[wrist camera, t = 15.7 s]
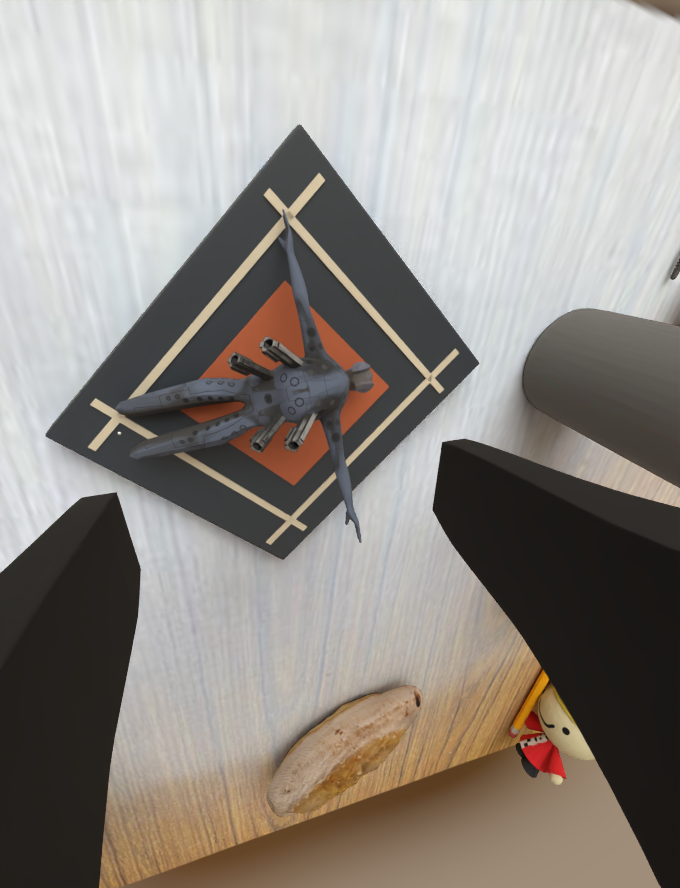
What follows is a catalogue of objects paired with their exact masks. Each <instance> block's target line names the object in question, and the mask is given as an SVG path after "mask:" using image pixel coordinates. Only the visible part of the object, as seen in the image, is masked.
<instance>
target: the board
mask: <svg viewBox="0 0 680 888" xmlns="http://www.w3.org/2000/svg"><path fill="white" fill-rule="evenodd" d="M282 209H284V211H285V214H286V216H287V219H288V223H289V226H290V229H291V232H292V237H293V248H294V254H295V257H296V260H297V262H298V265H299V267H300V270H301V273H302V275H303V278H304V281H305V285H306V289H307V294H308V300H309V306H310V310H311V313H312V316H313V319H314V322H315V324H316V327H317V330H318V333H319V336H320V338H321V341H322V344H323V347H324V349H325V351H326V353H327V354H328V355H329V356H330V357H331V358H333V359H334V360H335V361H336V362H337V363H338V364H339V365H340V366H341V367H342V368H343V369H344V371H346V370H348V369H349V368H351V367H352V366H353V364H355V363H357V362H365V363H367V364H369V365H370V371H371V373H372V375H373V378H372V382H373V383H374V386H373V387H372V389H371V390H369V391H368V392H366V393H360V392H358V391H349V394H348V397H347V399H346V402H345V405H344V407H343V408H342V410H341V415H340V421H341V431H342V440H343V450H344V457H345V462H346V465H347V468H348V471H349V476H350V481H351V488H352V491H353V490H354V489H355V488H356V487H357V486H358V485H359V484H360V483H361V482H362V481H363V480H364V479H365V478H366V477H367V476H368V475H369V474H370V473H371V472H372V471H373V470H374V469H375V468H376V467H377V466H378V465H379V464H380V463H381V462H382V461H383V460H384V459H385V458H386V457H387V456H388V455H389V454H390V452H391V451H392V450H393V449H394V448H395V447H396V446H397V445H398V444H399V443H400V442H401V441H402V440H403V439H404V438H405V437H406V436H407V435H408V434H409V433H410V432H411V431H412V430H413V429H414V428H415V427H416V426H417V425H418V424H419V423H420V422H421V421H422V420H423V419H424V418H425V417H426V416H427V415H428V414H429V413H430V412H431V411H432V410H433V409H434V408H435V407H436V406H437V405H438V404H439V403H440V402H441V401H442V400H443V399H444V398H445V397H446V396H447V395H448V394H449V393H450V392H451V391H452V390H453V389H454V388H455V387H456V386H457V385H458V384H459V383H460V382H461V381H462V380H463V379H464V378H465V377H466V376H467V375H468V374H469V373H470V372H471V371H472V370H473V369H474V368H475V367H476V366H477V365H478V364H479V362H478V360H477V359H476V358H475V356H474V355H473V354H472V352H471V351H470V350H469V348H468V347H467V346H466V344H465V343H464V342H463V340H462V339H461V338H460V336H459V335H458V334H457V332H456V331H455V330H454V328H453V327H452V326H451V324H450V323H449V322H448V320H447V319H446V318H445V316H444V315H443V314H442V312H441V311H440V310H439V308H438V307H437V306H436V304H435V303H434V302H433V300H432V299H431V298H430V296H429V295H428V294H427V292H426V291H425V290H424V288H423V287H422V286H421V284H420V283H419V282H418V280H417V279H416V278H415V276H414V275H413V274H412V272H411V271H410V270H409V268H408V267H407V266H406V264H405V263H404V262H403V260H402V259H401V258H400V256H399V255H398V254H397V252H396V251H395V250H394V248H393V247H392V246H391V244H390V243H389V242H388V240H387V239H386V238H385V236H384V235H383V234H382V232H381V231H380V230H379V228H378V227H377V226H376V224H375V223H374V222H373V220H372V219H371V218H370V216H369V215H368V214H367V212H366V211H365V210H364V208H363V207H362V206H361V204H360V203H359V202H358V200H357V199H356V198H355V196H354V195H353V194H352V192H351V191H350V190H349V188H348V187H347V186H346V184H345V183H344V182H343V180H342V179H341V178H340V176H339V175H338V174H337V172H336V171H335V170H334V168H333V167H332V166H331V164H330V163H329V162H328V160H327V159H326V158H325V156H324V155H323V154H322V152H321V151H320V150H319V148H318V147H317V146H316V144H315V143H314V142H313V140H312V139H311V138H310V136H309V135H308V134H307V132H306V131H305V130H304V128H303V127H302V126H301V125H298V126H297V127H296V128H295V129H294V130H293V131H292V132H291V133H290V134H289V135H288V137H287V138H286V139H285V140H284V142H283V143H282V144H281V145H280V146H279V148H278V149H277V150H276V151H275V153H274V154H273V155H272V156H271V157H270V159H269V160H268V161H267V162H266V164H265V165H264V166H263V167H262V169H261V170H260V171H259V172H258V173H257V175H256V176H255V177H254V178H253V180H252V181H251V182H250V183H249V184H248V186H247V187H246V188H245V189H244V191H243V192H242V193H241V194H240V195H239V197H238V198H237V199H236V200H235V202H234V203H233V204H232V205H231V206H230V208H229V209H228V210H227V211H226V213H225V214H224V215H223V216H222V217H221V219H220V220H219V221H218V222H217V224H216V225H215V226H214V227H213V229H212V230H211V231H210V232H209V233H208V235H207V236H206V237H205V238H204V240H203V241H202V242H201V243H200V244H199V246H198V247H197V248H196V249H195V251H194V252H193V253H192V254H191V255H190V257H189V258H188V259H187V260H186V262H185V263H184V264H183V265H182V266H181V268H180V269H179V270H178V271H177V273H176V274H175V275H174V276H173V278H172V279H171V280H170V281H169V282H168V284H167V285H166V286H165V287H164V289H163V290H162V291H161V292H160V293H159V295H158V296H157V297H156V298H155V300H154V301H153V302H152V303H151V304H150V306H149V307H148V308H147V309H146V311H145V312H144V313H143V314H142V315H141V317H140V318H139V319H138V320H137V322H136V323H135V324H134V325H133V326H132V328H131V329H130V330H129V331H128V333H127V334H126V335H125V336H124V338H123V339H122V340H121V341H120V342H119V344H118V345H117V346H116V347H115V349H114V350H113V351H112V352H111V353H110V355H109V356H108V357H107V358H106V360H105V361H104V362H103V363H102V364H101V366H100V367H99V368H98V369H97V371H96V372H95V373H94V374H93V375H92V377H91V378H90V379H89V380H88V382H87V383H86V384H85V385H84V386H83V388H82V389H81V390H80V391H79V393H78V394H77V395H76V396H75V398H74V399H73V400H72V401H71V402H70V404H69V405H68V406H67V407H66V409H65V410H64V411H63V412H62V413H61V415H60V416H59V417H58V418H57V420H56V421H55V422H54V423H53V424H52V426H51V427H50V429H49V430H48V431H47V433H46V437H48V438H50V439H52V440H53V441H55V442H57V443H59V444H61V445H63V446H65V447H67V448H69V449H71V450H73V451H75V452H77V453H78V454H80V455H82V456H84V457H86V458H88V459H90V460H92V461H94V462H96V463H98V464H100V465H102V466H104V467H105V468H107V469H109V470H111V471H113V472H115V473H117V474H119V475H121V476H123V477H125V478H127V479H129V480H130V481H132V482H134V483H136V484H138V485H140V486H142V487H144V488H146V489H148V490H150V491H152V492H154V493H155V494H157V495H159V496H161V497H163V498H165V499H167V500H169V501H171V502H173V503H175V504H177V505H179V506H180V507H182V508H184V509H186V510H188V511H190V512H192V513H194V514H196V515H198V516H200V517H202V518H204V519H205V520H207V521H209V522H211V523H213V524H215V525H217V526H219V527H221V528H223V529H225V530H227V531H229V532H231V533H232V534H234V535H236V536H238V537H240V538H242V539H244V540H246V541H248V542H250V543H252V544H254V545H256V546H257V547H259V548H261V549H263V550H265V551H267V552H269V553H271V554H273V555H275V556H277V557H279V558H281V559H285V558H286V557H287V556H288V555H289V554H290V553H291V552H292V551H293V550H294V549H295V548H296V547H297V546H298V545H299V544H300V543H301V542H302V541H303V540H304V539H305V538H306V537H307V536H308V535H309V534H310V533H311V532H312V531H313V530H314V529H315V528H316V527H317V526H318V525H319V524H320V523H321V522H322V521H323V520H324V519H325V518H326V517H327V516H328V515H329V514H330V513H331V512H332V511H333V510H334V509H335V508H336V507H337V506H338V505H339V504H340V503H341V502H342V501H343V500H344V499H343V496H342V493H341V490H340V487H339V485H338V481H337V478H336V475H335V470H334V465H333V461H332V457H331V453H330V449H329V446H328V443H327V439H326V436H325V433H324V430H323V427H322V424H321V422H320V420H317V421H314V422H313V424H312V426H311V428H310V430H309V432H308V434H307V436H306V438H305V440H304V442H303V444H302V445H301V446H300V447H299V449H298V451H297V452H291V450H289V451H287V450H286V449H285V447H284V445H285V441H284V440H285V437H286V436H287V434H288V432H289V430H290V429H291V427H292V426H293V427H295V426H296V425H297V424H295V423H289V422H286V423H284V424H282V425H281V427H280V428H279V429H278V431H277V432H276V433H275V434H274V436H273V437H272V440H271V442H270V443H269V444H268V446H267V447H266V448H265V449H264V451H263V452H261V453H258V452H256V450H255V451H253V450H252V449H251V448H250V446H251V445H250V439H251V438H252V436H253V435H254V434H255V433H256V432H257V431H258V429H259V428H266V427H255V428H252V429H250V430H249V431H247V432H246V433H244V434H242V435H241V436H239V437H237V438H235V439H233V440H231V441H229V442H227V443H225V444H223V445H218V446H213V447H208V448H203V449H197V450H192V451H187V452H182V453H177V454H171V455H166V456H160V457H153V458H146V459H140V460H137V459H135V458H132V457H130V450H131V449H132V448H133V447H134V446H136V445H137V444H138V443H139V442H142V441H144V440H147V439H150V438H154V437H157V436H161V435H164V434H167V433H170V432H174V431H177V430H180V429H184V428H187V427H190V426H194V425H197V424H200V423H203V422H206V421H209V420H212V419H215V418H218V417H221V416H224V415H227V414H230V413H233V412H236V411H238V410H240V409H242V408H243V407H244V405H245V404H243V403H242V402H230V403H222V404H214V405H207V406H200V407H193V408H187V409H181V410H175V411H169V412H162V413H156V414H150V415H144V416H136V417H129V416H125V415H121V414H119V413H118V412H117V410H116V409H115V408H116V407H117V405H118V404H119V403H120V402H122V401H125V400H128V399H131V398H134V397H137V396H140V395H143V394H147V393H150V392H154V391H158V390H161V389H165V388H169V387H172V386H176V385H180V384H183V383H187V382H191V381H195V380H198V379H202V378H232V379H243V378H246V377H248V376H250V375H252V374H250V375H248V376H245V375H243V374H240V373H238V372H236V371H233V370H232V369H231V368H230V366H229V363H227V361H228V357H231V354H232V353H234V352H237V353H239V354H241V355H243V356H245V357H247V358H249V359H251V360H252V361H253V362H254V363H256V364H258V365H261V366H263V367H265V368H267V369H269V370H274V369H275V368H276V367H278V366H279V365H280V364H282V363H281V362H280V361H278V362H277V363H275V362H274V361H273V360H271V359H270V358H268V357H267V356H265V355H264V354H263V353H262V350H261V348H259V344H260V341H263V339H264V338H265V337H266V336H269V337H270V338H272V339H273V340H277V341H278V342H279V343H281V344H282V345H283V346H284V347H286V348H287V349H288V350H290V351H291V352H292V353H293V354H295V355H296V356H297V357H299V358H303V357H304V356H305V353H304V346H303V339H302V333H301V327H300V322H299V317H298V312H297V308H296V304H295V301H294V297H293V291H292V286H291V278H290V270H289V263H288V257H287V253H286V252H285V251H284V249H283V247H282V245H281V243H280V242H279V240H278V237H280V238H281V239H282V240H284V241H285V240H286V237H287V232H286V228H285V224H284V220H283V211H282ZM118 432H121V435H119V434H118Z"/></svg>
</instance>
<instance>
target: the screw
mask: <svg viewBox="0 0 680 888" xmlns="http://www.w3.org/2000/svg"><path fill="white" fill-rule="evenodd" d="M677 263H678V264H677V265H676V267H675V269H674V271H673V273H672V275H671V277H670V278H671V279H672V280H673V279H675V278H676V277H677V275H678V274H679V272H680V259H679V262H677Z"/></svg>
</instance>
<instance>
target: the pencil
mask: <svg viewBox="0 0 680 888" xmlns="http://www.w3.org/2000/svg"><path fill="white" fill-rule="evenodd" d="M548 681H549V678H548V676H547V675H546V673H545V671H544V670H542V672H541V674H540V676H539V678H538V679H537V681H536V683H535V685H534V687H533V688H532V690H531V692H530V694H529V695H528V697H527V699H526V701H525V703H524V704H523V706H522V708H521V710H520V712H519V713H518V715H517V717H516V719H515V720H514V722H513V724H512V726H511V728H510V729H509V735H510V736H511V737H512V738H515V737H516V736H517V734H518V733H519V731H520V729H521V727H522V726H523V724H524V722H525V721H526V719H527V717H528V715H529V714H530V712H531V710H532V708H533V707H534V705H535V703H536V702H537V700H538V698H539V696H540V695H541V693H542V691H543V689H544V688H545V686H546V684H547V683H548Z"/></svg>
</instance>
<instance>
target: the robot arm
mask: <svg viewBox="0 0 680 888" xmlns="http://www.w3.org/2000/svg"><path fill="white" fill-rule="evenodd" d="M433 512H434V513H435V515H436V517H437V519H438V521H439V523H440V524H441V526H442V528H443V530H444V532H445V533H446V535H447V537H448V538H449V540H450V542H451V543H452V545H453V546H454V547H455V549H456V550H457V551H458V553H459V554H460V555H461V557H462V558H463V559H464V561H465V562H466V563H467V565H468V566H469V567H470V569H471V570H472V571H473V572H474V574H475V575H476V576H477V578H478V579H479V580H480V581H481V583H482V584H483V585H484V586H485V588H486V589H487V590H488V592H489V593H490V594H491V595H492V597H493V598H494V599H495V601H496V602H497V603H498V604H499V606H500V607H501V608H502V610H503V611H504V612H505V613H506V615H507V616H508V617H509V619H510V620H511V621H512V623H513V624H514V626H515V627H516V628H517V630H518V631H519V633H520V634H521V635H522V637H523V638H524V640H525V641H526V643H527V645H528V646H529V648H530V649H531V651H532V652H533V654H534V656H535V657H536V659H537V660H538V662H539V664H540V665H541V667H542V668H543V670H544V671H545V673H546V675H547V676H548V678H549V679H550V681H551V683H552V684H553V686H554V688H555V689H556V691H557V693H558V695H559V696H560V698H561V700H562V701H563V703H564V705H565V706H566V708H567V710H568V711H569V713H570V715H571V716H572V718H573V720H574V722H575V723H576V725H577V727H578V729H579V730H580V732H581V734H582V736H583V738H584V739H585V741H586V743H587V745H588V747H589V748H590V750H591V752H592V754H593V756H594V758H595V759H596V761H597V763H598V765H599V767H600V768H601V770H602V772H603V774H604V776H605V778H606V779H607V781H608V783H609V785H610V787H611V789H612V791H613V793H614V794H615V797H616V798H617V801H618V803H619V805H620V806H621V809H622V810H623V812H624V814H625V816H626V818H627V820H628V822H629V824H630V826H631V828H632V830H633V832H634V834H635V836H636V838H637V840H638V842H639V844H640V846H641V848H642V850H643V852H644V854H645V856H646V858H647V860H648V862H649V865H650V867H651V869H652V871H653V873H654V875H655V877H656V879H657V881H658V883H659V885H660V886H661V888H680V508H679V507H675V506H671V505H667V504H663V503H659V502H656V501H652V500H648V499H644V498H641V497H637V496H633V495H630V494H626V493H623V492H620V491H616V490H613V489H610V488H607V487H604V486H601V485H598V484H594V483H591V482H588V481H585V480H582V479H579V478H576V477H573V476H571V475H568V474H565V473H562V472H559V471H556V470H554V469H551V468H548V467H545V466H543V465H540V464H537V463H535V462H532V461H529V460H527V459H524V458H521V457H518V456H516V455H513V454H510V453H508V452H505V451H502V450H499V449H497V448H494V447H491V446H488V445H485V444H482V443H479V442H475V441H471V440H467V439H459V440H453V441H446V442H442V448H441V455H440V462H439V468H438V475H437V482H436V489H435V496H434V503H433ZM140 572H141V569H140V565H139V562H138V559H137V556H136V553H135V549H134V546H133V543H132V540H131V537H130V534H129V530H128V527H127V524H126V521H125V518H124V515H123V511H122V508H121V505H120V502H119V499H118V496H117V492H116V493H109V494H103V495H96V496H90V497H83V498H81V499H80V500H78V501H77V502H76V503H75V504H74V505H73V506H72V507H70V508H69V509H68V510H67V511H66V512H65V513H64V514H63V515H62V516H61V517H60V518H59V519H58V520H57V521H55V522H54V523H53V524H52V525H51V526H50V527H49V528H48V529H47V530H46V531H45V532H44V533H43V534H42V535H41V536H40V537H39V538H38V539H37V540H36V541H34V542H33V543H32V544H31V545H30V546H29V547H28V548H27V549H26V550H25V551H24V552H23V553H22V554H20V555H19V556H18V557H17V558H16V559H15V560H14V561H13V562H12V563H11V564H10V565H9V566H8V567H7V568H5V569H4V570H3V571H2V572H1V573H0V888H99V881H100V869H101V857H102V844H103V833H104V823H105V813H106V803H107V792H108V782H109V772H110V764H111V758H112V751H113V745H114V738H115V733H116V728H117V723H118V717H119V712H120V707H121V702H122V697H123V692H124V687H125V682H126V676H127V671H128V666H129V661H130V656H131V651H132V645H133V640H134V635H135V630H136V624H137V618H138V608H139V594H140Z"/></svg>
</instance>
